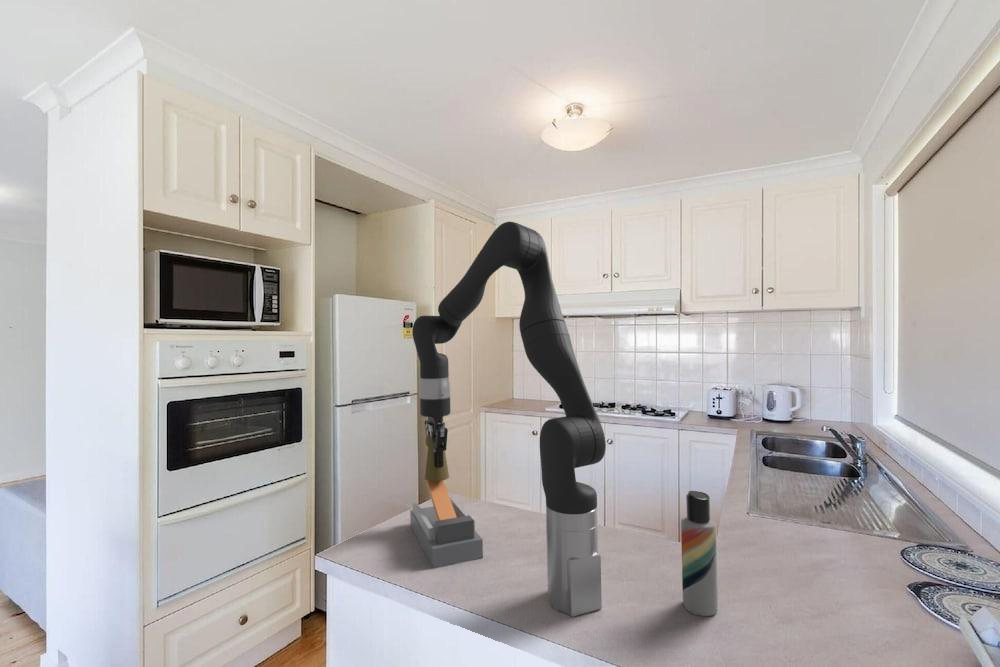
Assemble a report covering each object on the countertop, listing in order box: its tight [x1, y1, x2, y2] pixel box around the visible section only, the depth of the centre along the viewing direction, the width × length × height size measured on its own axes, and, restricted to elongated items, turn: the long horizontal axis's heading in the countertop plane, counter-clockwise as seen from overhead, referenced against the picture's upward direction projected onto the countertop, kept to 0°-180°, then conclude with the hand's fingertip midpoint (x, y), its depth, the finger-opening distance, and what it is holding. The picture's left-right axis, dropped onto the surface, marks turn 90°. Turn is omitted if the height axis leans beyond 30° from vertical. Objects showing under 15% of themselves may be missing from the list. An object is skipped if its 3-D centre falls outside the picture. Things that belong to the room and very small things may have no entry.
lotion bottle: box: [680, 490, 719, 617], centre depth 82 cm, size 6×6×20 cm
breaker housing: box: [409, 496, 484, 569], centre depth 111 cm, size 24×11×8 cm, turn 22°
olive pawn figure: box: [424, 434, 450, 482], centre depth 117 cm, size 6×6×11 cm
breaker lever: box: [426, 480, 457, 521], centre depth 112 cm, size 17×4×1 cm, turn 23°
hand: (436, 464), depth 117 cm, fingers closed on olive pawn figure, 4 cm apart
